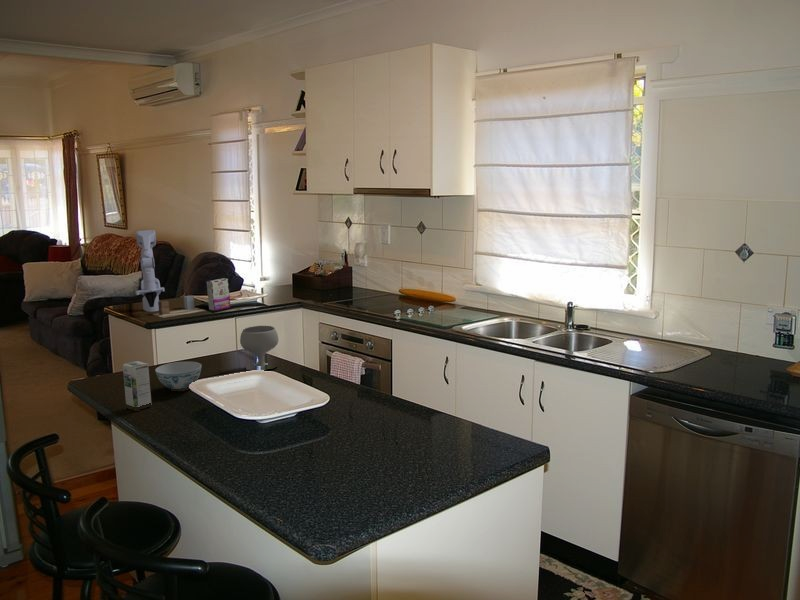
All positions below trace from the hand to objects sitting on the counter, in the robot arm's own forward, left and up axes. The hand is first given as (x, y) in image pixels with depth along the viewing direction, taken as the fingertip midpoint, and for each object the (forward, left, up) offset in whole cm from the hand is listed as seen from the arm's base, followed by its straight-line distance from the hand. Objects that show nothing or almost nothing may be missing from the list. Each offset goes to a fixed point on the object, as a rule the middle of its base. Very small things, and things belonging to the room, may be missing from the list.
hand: (151, 306), depth 361 cm
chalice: (+126, -13, -6) cm, 127 cm away
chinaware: (+128, -46, -6) cm, 136 cm away
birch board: (+1, +14, -6) cm, 16 cm away
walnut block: (0, +6, -5) cm, 8 cm away
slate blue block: (-4, +22, -5) cm, 23 cm away
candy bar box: (+7, +34, -6) cm, 36 cm away
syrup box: (+137, -64, -6) cm, 151 cm away
